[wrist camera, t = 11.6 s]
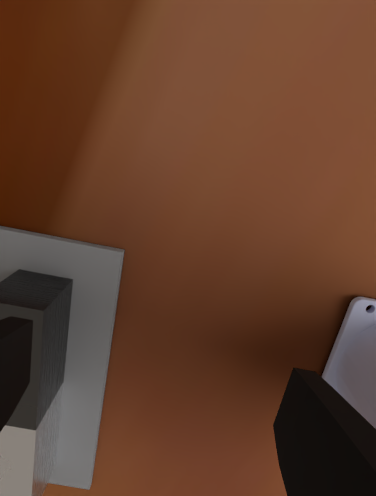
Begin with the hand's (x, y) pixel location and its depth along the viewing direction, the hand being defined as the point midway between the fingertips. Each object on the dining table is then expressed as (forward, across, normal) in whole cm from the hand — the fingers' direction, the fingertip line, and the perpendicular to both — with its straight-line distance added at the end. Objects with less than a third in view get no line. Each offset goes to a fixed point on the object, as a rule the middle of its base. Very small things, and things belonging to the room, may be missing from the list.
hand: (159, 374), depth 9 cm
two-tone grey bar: (+9, +7, +9) cm, 15 cm away
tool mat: (+9, +7, +9) cm, 15 cm away
